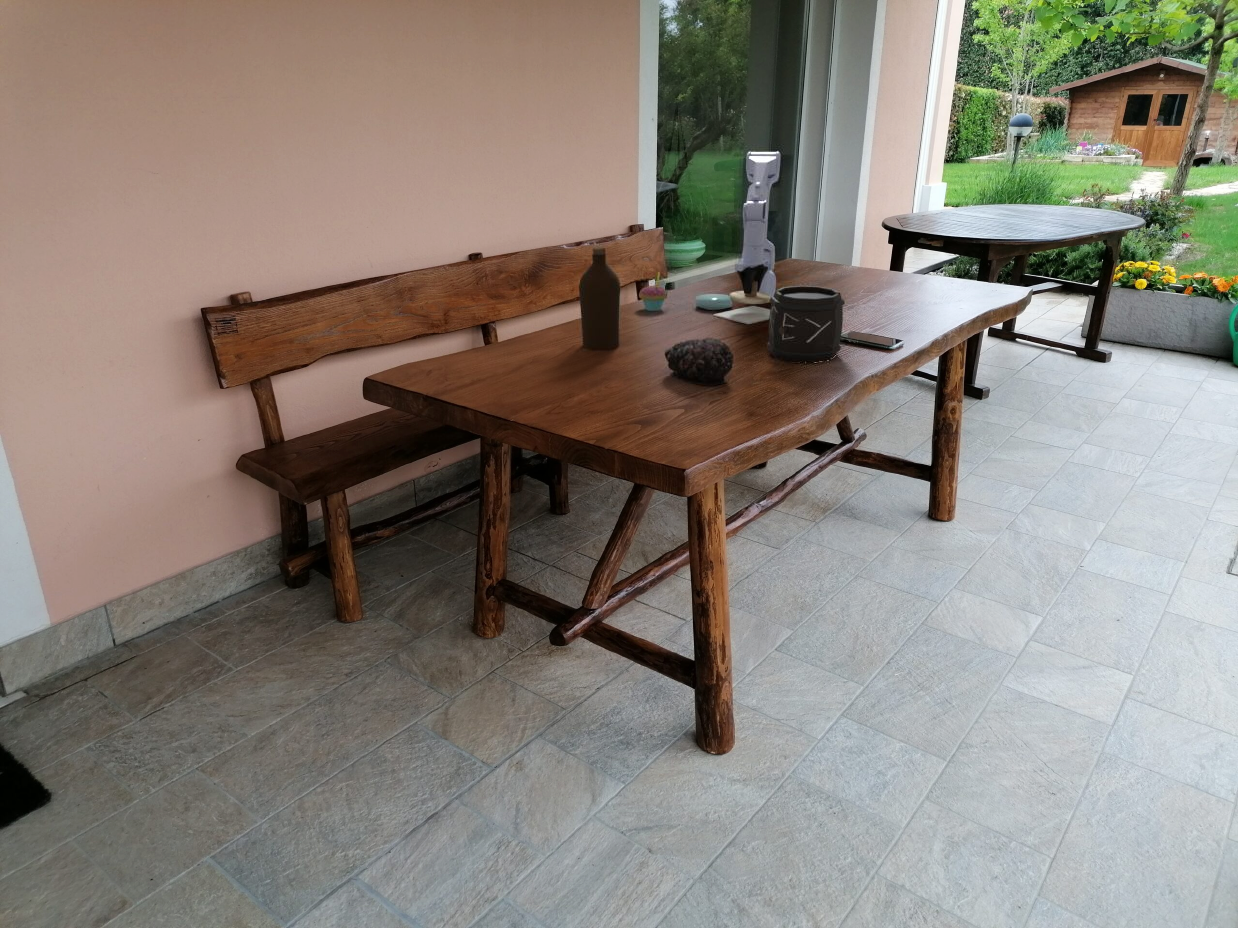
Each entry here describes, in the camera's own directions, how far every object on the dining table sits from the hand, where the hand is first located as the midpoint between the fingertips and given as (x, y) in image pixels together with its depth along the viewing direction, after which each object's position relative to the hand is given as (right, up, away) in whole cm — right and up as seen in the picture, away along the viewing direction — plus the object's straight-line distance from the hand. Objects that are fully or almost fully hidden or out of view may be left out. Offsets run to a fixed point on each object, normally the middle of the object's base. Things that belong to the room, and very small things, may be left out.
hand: (751, 292), depth 258 cm
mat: (0, -6, +3) cm, 7 cm away
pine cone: (-21, -30, -54) cm, 65 cm away
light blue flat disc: (-10, -2, +13) cm, 16 cm away
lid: (0, -2, +1) cm, 2 cm away
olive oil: (-43, -19, -26) cm, 54 cm away
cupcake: (-28, -3, +12) cm, 31 cm away
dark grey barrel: (+7, -23, -37) cm, 44 cm away
